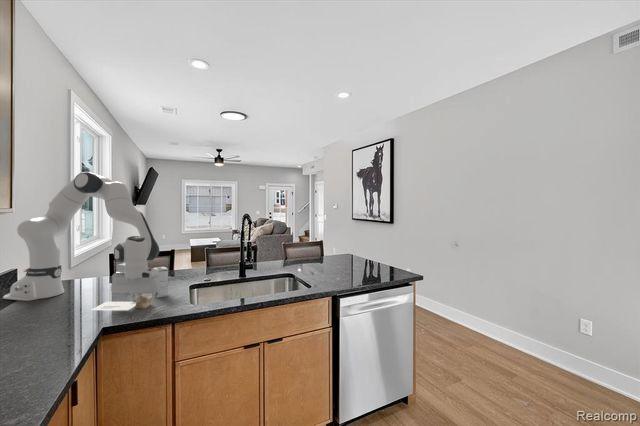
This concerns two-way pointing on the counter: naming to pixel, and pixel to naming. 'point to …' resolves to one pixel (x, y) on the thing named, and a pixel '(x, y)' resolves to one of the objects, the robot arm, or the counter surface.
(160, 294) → the syrup box
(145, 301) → the beech block
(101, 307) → the envelope
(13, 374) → the counter surface
